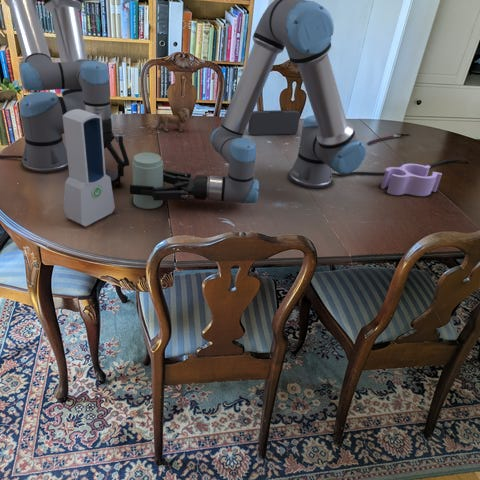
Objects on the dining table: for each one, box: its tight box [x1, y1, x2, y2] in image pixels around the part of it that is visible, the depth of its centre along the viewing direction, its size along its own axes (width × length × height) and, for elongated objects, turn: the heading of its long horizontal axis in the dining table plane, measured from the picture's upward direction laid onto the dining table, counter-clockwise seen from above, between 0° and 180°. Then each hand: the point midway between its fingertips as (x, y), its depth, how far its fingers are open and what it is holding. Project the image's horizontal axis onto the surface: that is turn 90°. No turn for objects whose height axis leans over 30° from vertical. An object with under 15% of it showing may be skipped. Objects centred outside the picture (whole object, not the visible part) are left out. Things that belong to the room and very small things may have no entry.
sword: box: [367, 133, 409, 145], centre depth 213 cm, size 31×3×1 cm, turn 126°
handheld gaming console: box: [247, 109, 301, 136], centre depth 202 cm, size 23×3×10 cm, turn 108°
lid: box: [105, 169, 118, 186], centre depth 148 cm, size 10×10×2 cm
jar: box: [131, 151, 164, 210], centre depth 140 cm, size 9×9×15 cm
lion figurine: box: [154, 107, 190, 132], centre depth 195 cm, size 15×5×9 cm, turn 110°
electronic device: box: [63, 109, 116, 227], centre depth 126 cm, size 12×8×30 cm, turn 148°
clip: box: [380, 163, 443, 197], centre depth 168 cm, size 20×12×7 cm, turn 109°
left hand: (103, 185), depth 150 cm, fingers closed on lid, 9 cm apart
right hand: (132, 182), depth 140 cm, fingers closed on jar, 9 cm apart
